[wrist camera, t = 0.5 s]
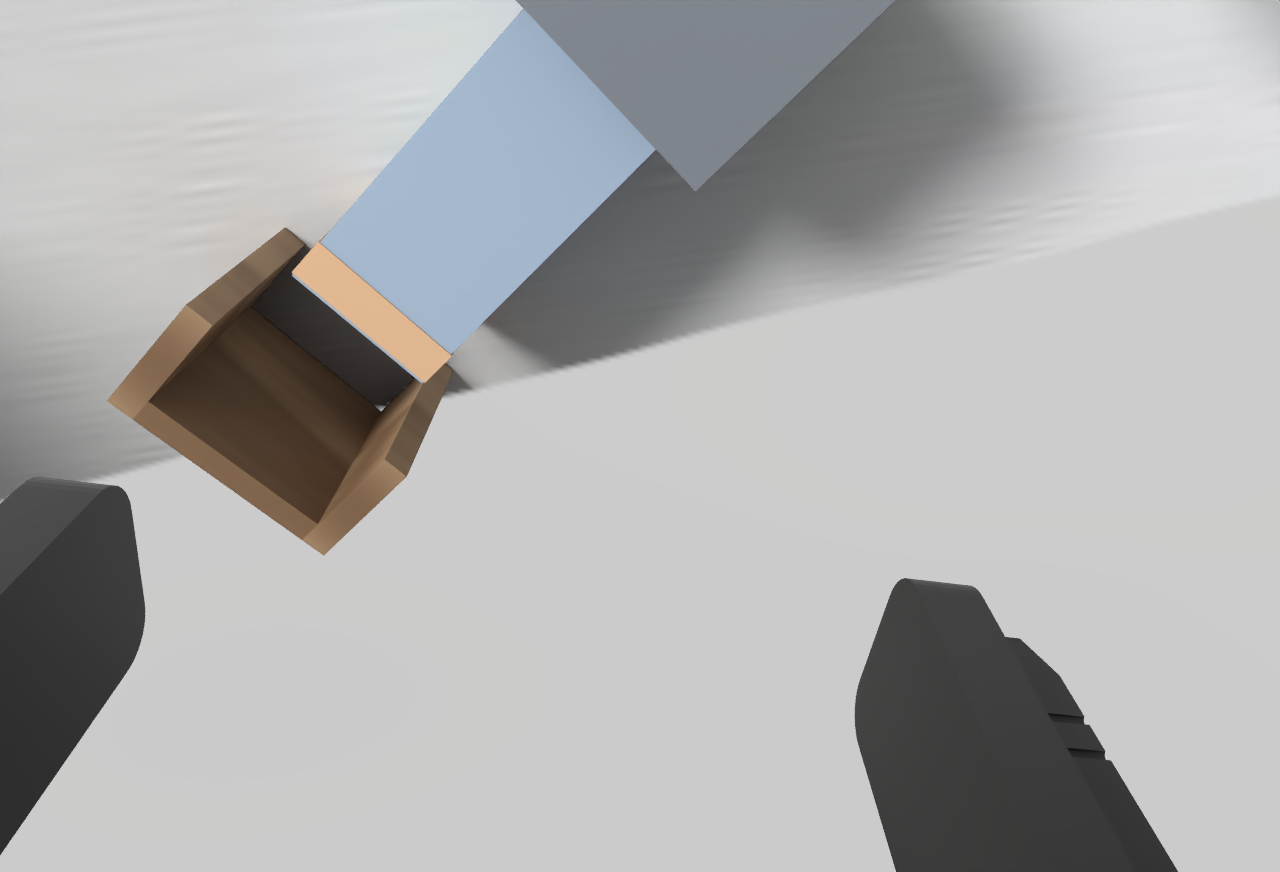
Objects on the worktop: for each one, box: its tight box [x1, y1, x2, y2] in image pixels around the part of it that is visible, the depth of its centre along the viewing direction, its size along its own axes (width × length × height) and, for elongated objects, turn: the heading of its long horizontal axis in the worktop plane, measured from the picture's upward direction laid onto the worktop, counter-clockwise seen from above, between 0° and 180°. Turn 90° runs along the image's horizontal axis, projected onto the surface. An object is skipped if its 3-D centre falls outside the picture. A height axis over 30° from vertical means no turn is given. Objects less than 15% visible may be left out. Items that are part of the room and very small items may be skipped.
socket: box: [107, 228, 453, 555], centre depth 28 cm, size 4×7×7 cm, turn 44°
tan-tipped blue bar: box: [292, 9, 656, 383], centre depth 25 cm, size 16×5×6 cm, turn 134°
